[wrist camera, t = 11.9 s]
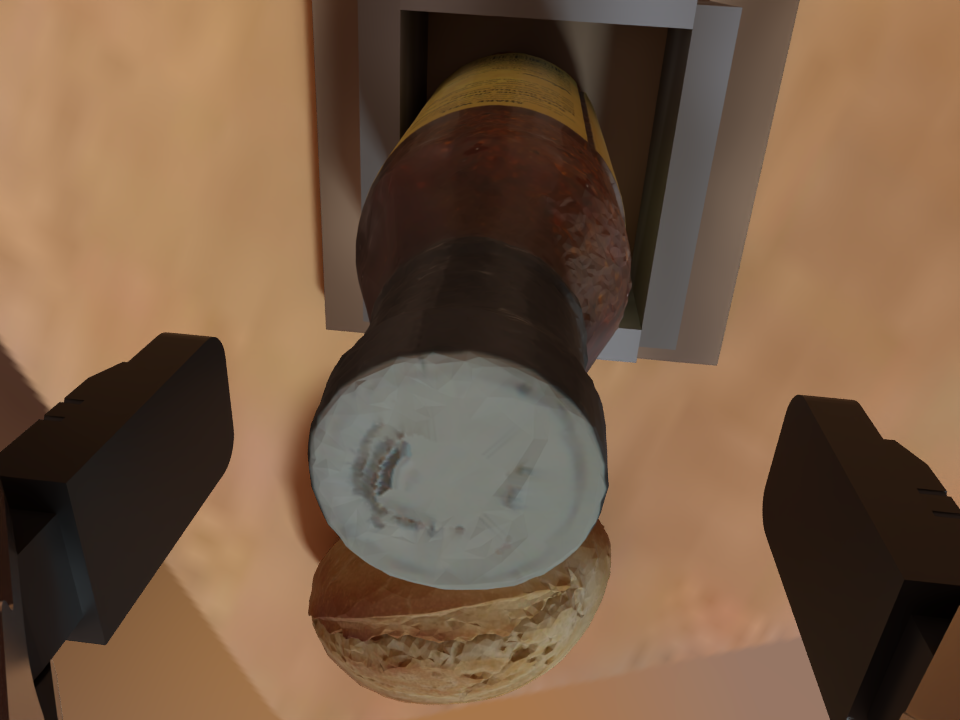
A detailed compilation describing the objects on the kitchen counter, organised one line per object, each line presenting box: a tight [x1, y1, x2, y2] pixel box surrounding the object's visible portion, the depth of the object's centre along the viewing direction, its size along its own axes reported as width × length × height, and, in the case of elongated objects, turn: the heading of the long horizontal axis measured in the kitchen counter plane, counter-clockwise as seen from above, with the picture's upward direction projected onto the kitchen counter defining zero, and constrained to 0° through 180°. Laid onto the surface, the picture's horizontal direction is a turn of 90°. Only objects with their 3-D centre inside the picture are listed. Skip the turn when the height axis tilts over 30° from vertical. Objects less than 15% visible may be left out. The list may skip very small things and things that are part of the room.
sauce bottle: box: [308, 51, 632, 590], centre depth 18 cm, size 7×6×20 cm
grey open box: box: [312, 0, 800, 366], centre depth 26 cm, size 16×16×6 cm
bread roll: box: [308, 519, 611, 704], centre depth 34 cm, size 10×15×8 cm, turn 112°
